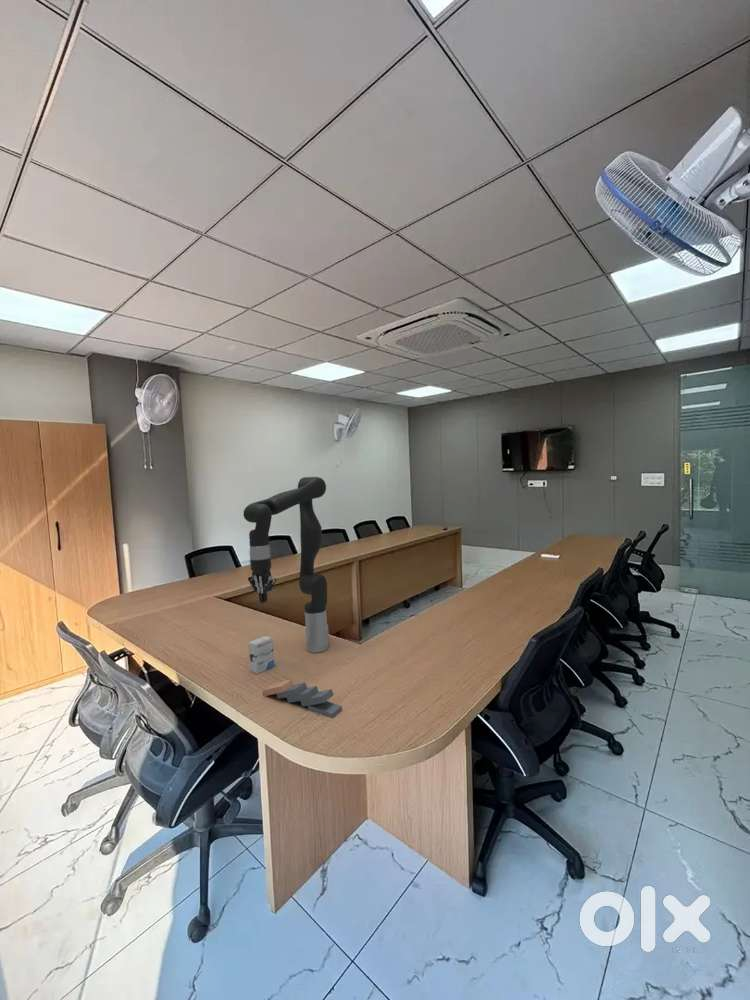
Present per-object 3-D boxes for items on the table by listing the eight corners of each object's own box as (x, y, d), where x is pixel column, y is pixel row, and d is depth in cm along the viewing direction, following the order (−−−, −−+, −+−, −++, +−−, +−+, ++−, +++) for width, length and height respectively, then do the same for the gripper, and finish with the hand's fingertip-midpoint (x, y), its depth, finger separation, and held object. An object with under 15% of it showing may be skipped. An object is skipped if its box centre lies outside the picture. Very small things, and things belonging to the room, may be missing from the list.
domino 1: (274, 689, 146) (293, 685, 141) (264, 696, 142) (283, 692, 137) (273, 683, 147) (291, 679, 142) (262, 690, 143) (281, 686, 137)
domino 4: (300, 700, 134) (322, 696, 129) (310, 693, 139) (331, 689, 134) (302, 706, 134) (324, 702, 129) (312, 699, 138) (333, 695, 133)
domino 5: (307, 705, 133) (332, 713, 127) (317, 698, 137) (341, 705, 132) (308, 711, 133) (332, 720, 128) (318, 703, 137) (342, 711, 132)
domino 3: (286, 696, 138) (306, 693, 132) (296, 690, 142) (316, 685, 137) (288, 702, 137) (308, 699, 132) (298, 695, 141) (318, 691, 136)
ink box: (267, 662, 168) (265, 634, 167) (275, 665, 165) (273, 637, 164) (249, 671, 161) (247, 642, 161) (256, 674, 158) (255, 645, 157)
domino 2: (276, 693, 140) (294, 688, 135) (286, 686, 144) (305, 682, 139) (278, 698, 140) (296, 694, 134) (288, 692, 144) (307, 687, 138)
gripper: (280, 556, 153) (283, 601, 154) (255, 554, 160) (258, 597, 161) (266, 560, 147) (269, 607, 148) (240, 557, 153) (243, 603, 154)
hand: (263, 602), depth 154 cm, fingers closed
